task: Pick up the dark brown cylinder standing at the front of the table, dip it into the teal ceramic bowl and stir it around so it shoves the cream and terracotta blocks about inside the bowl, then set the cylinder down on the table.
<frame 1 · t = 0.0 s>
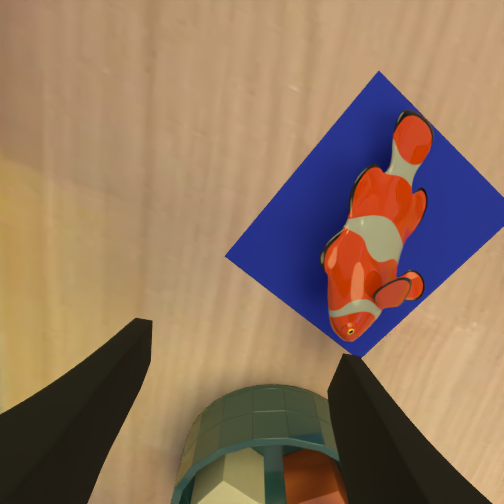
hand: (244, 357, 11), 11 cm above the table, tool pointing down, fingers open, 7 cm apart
fish: (366, 234, 21), on the table
cream block: (231, 457, 26), resting on bowl
terracotta block: (312, 465, 26), resting on bowl
bowl: (271, 456, 26), on the table
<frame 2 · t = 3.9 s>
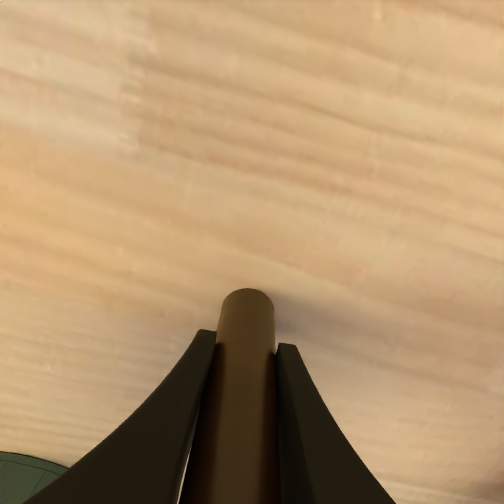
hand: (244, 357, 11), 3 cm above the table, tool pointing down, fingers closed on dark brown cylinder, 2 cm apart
dark brown cylinder: (247, 309, 14), on the table, touching gripper
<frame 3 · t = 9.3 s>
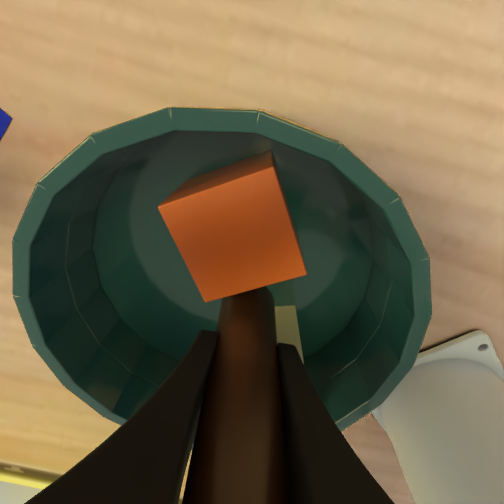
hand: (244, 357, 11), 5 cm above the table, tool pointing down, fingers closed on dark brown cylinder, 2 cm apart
cream block: (261, 335, 17), point 1 cm above the table, touching bowl
dark brown cylinder: (248, 302, 14), point 2 cm above the table, touching gripper
terracotta block: (243, 207, 14), resting on bowl
bowl: (232, 267, 16), on the table
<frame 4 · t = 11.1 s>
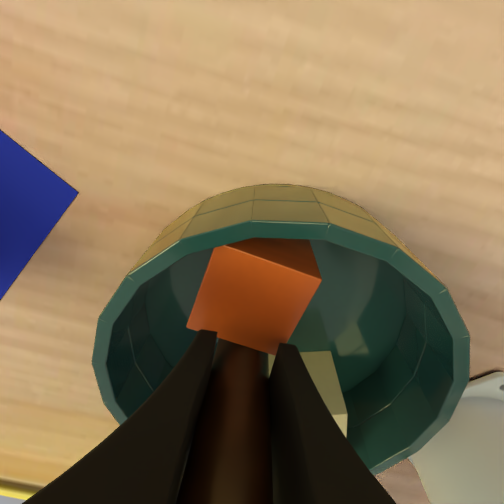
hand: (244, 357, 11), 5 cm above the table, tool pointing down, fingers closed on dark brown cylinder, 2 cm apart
cream block: (297, 376, 18), point 1 cm above the table, touching bowl
dark brown cylinder: (243, 343, 14), point 3 cm above the table, tilted 11°, touching gripper, terracotta block
terracotta block: (254, 257, 15), point 1 cm above the table, touching bowl, dark brown cylinder
bowl: (272, 316, 17), on the table
when the fingers open (3 cm above the table, at t = 15.6 s): dark brown cylinder moves 4 cm and tips over, point 1 cm above the table.
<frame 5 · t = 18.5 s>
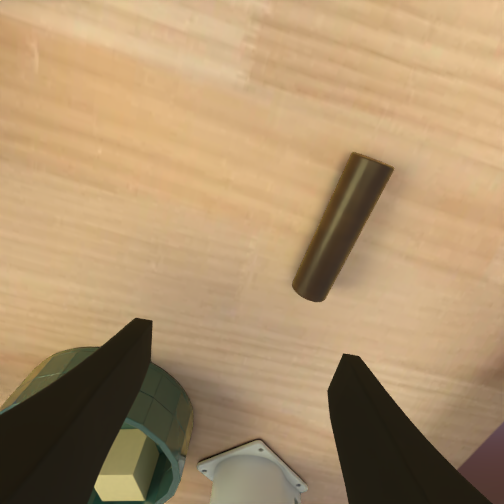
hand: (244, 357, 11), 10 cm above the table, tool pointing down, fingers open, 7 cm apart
cream block: (135, 441, 29), point 1 cm above the table, touching bowl
dark brown cylinder: (308, 291, 20), point 1 cm above the table, tilted 90°
bowl: (112, 408, 28), on the table
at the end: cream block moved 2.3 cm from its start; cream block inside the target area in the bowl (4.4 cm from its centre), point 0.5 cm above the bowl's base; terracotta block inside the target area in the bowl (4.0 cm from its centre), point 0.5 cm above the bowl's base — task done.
